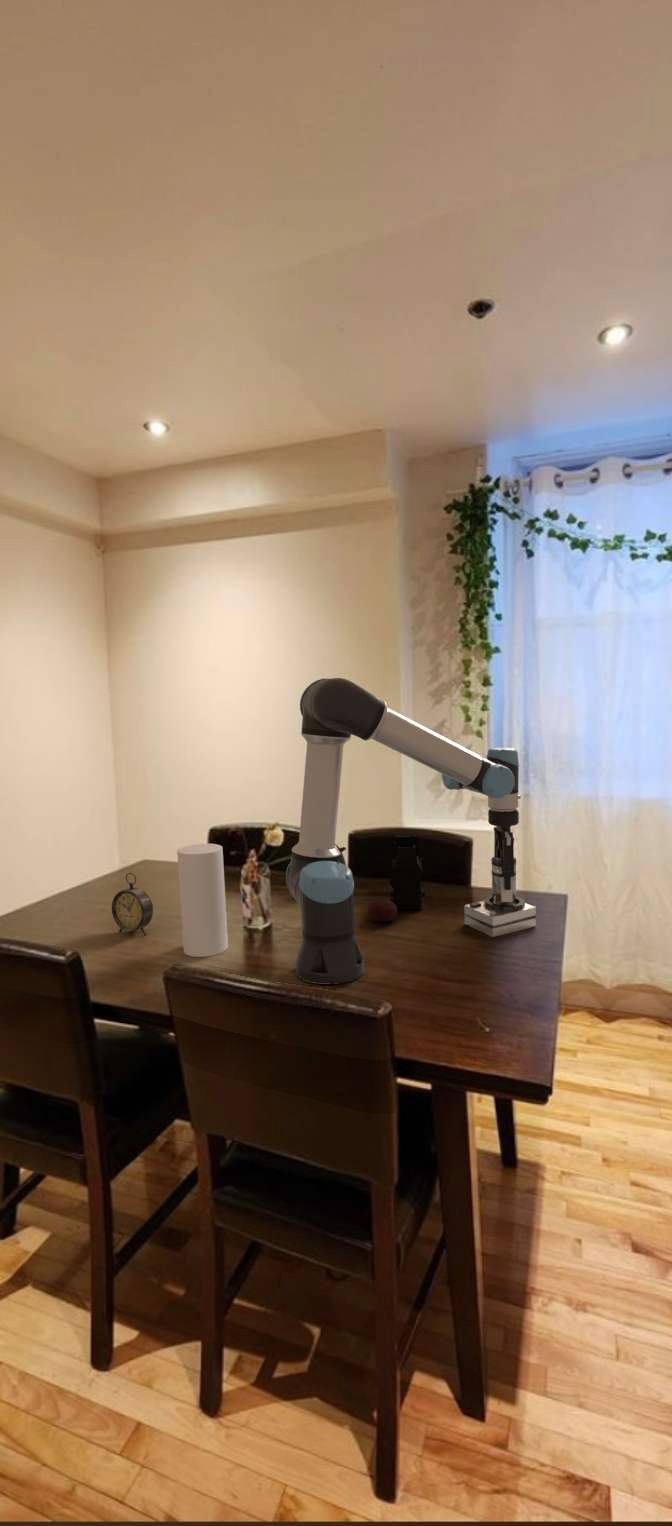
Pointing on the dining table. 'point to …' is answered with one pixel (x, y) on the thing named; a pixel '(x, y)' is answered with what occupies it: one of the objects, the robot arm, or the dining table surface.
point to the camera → (407, 874)
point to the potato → (382, 910)
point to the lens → (497, 882)
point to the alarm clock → (132, 908)
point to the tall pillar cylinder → (202, 899)
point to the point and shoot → (499, 916)
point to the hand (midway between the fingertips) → (504, 896)
